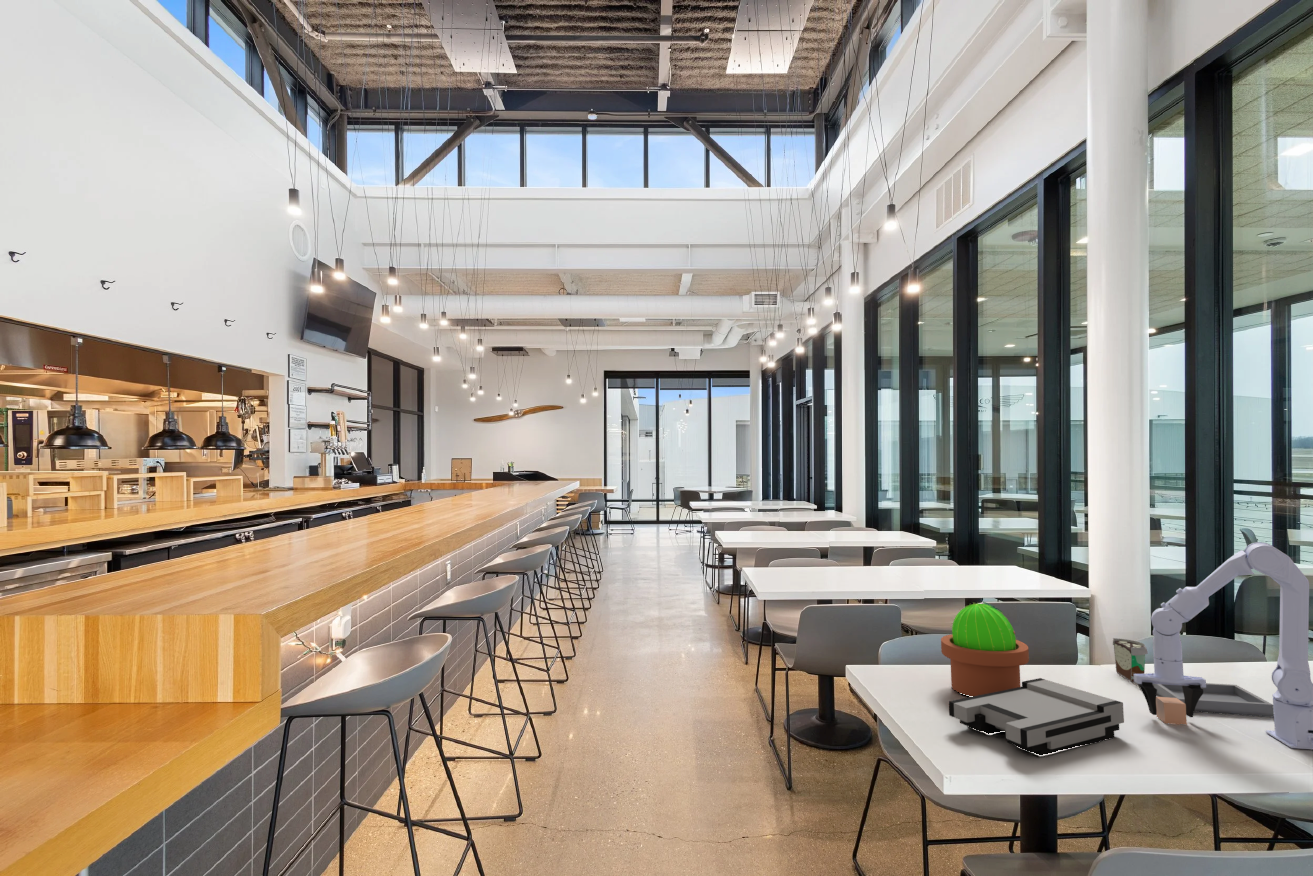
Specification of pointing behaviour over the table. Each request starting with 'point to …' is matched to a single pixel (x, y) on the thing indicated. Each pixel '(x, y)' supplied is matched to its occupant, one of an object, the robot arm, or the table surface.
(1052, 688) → the gray blocky slab
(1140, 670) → the food container
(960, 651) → the potted cactus
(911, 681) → the table surface
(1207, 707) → the bin
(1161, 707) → the terracotta block
